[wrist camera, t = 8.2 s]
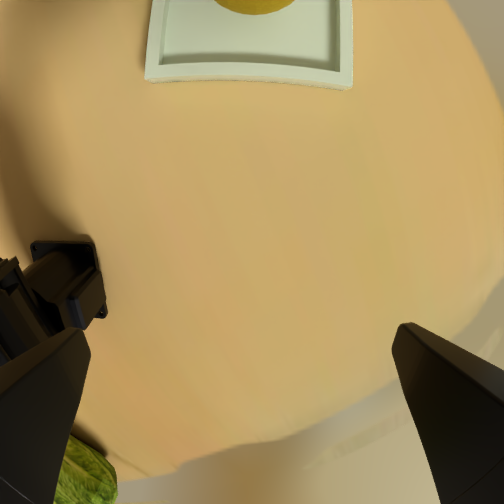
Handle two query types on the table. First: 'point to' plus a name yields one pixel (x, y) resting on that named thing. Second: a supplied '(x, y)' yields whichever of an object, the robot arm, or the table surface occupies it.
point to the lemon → (254, 6)
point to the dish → (251, 43)
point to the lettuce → (85, 476)
